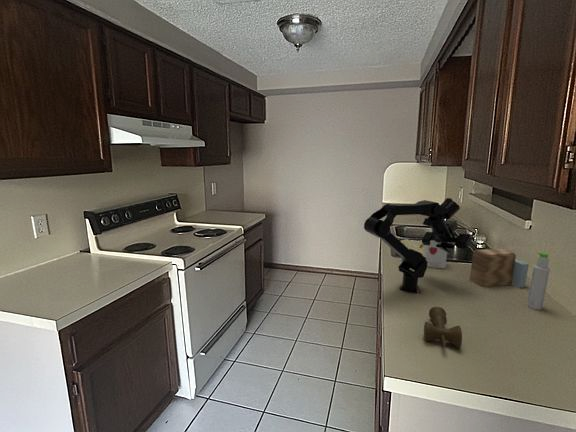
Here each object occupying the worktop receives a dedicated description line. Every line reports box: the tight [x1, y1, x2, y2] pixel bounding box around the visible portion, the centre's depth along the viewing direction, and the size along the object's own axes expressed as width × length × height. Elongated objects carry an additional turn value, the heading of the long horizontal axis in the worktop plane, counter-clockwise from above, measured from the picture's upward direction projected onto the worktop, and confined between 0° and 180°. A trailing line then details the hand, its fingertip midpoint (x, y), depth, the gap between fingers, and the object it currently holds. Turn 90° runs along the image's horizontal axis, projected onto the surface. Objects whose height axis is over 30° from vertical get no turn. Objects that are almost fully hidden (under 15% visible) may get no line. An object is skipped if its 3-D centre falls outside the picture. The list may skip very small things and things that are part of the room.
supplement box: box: [424, 240, 448, 269], centre depth 153 cm, size 9×9×15 cm
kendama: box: [423, 306, 463, 349], centre depth 95 cm, size 6×10×20 cm
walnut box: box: [469, 248, 517, 288], centre depth 134 cm, size 14×7×14 cm, turn 102°
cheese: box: [400, 238, 425, 256], centre depth 166 cm, size 15×7×15 cm
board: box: [510, 258, 529, 289], centre depth 136 cm, size 3×14×10 cm, turn 12°
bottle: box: [526, 252, 550, 311], centre depth 112 cm, size 4×4×20 cm
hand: (453, 253), depth 132 cm, fingers closed
